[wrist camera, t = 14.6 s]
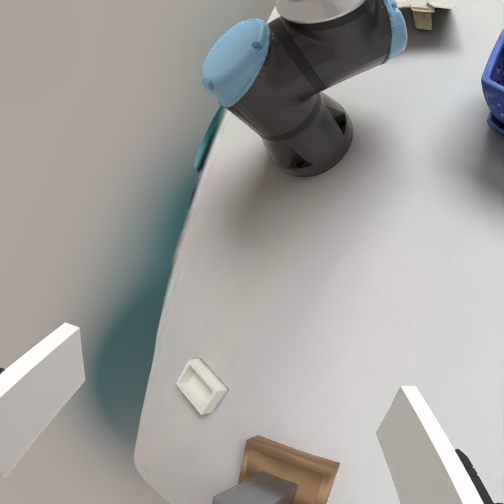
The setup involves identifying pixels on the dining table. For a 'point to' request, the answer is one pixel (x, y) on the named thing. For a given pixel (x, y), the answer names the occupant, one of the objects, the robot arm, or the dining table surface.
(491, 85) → the flower pot
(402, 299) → the dining table surface
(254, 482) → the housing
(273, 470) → the stand
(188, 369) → the box
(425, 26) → the wall
